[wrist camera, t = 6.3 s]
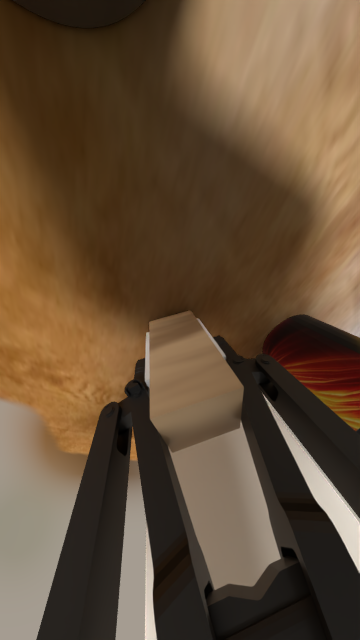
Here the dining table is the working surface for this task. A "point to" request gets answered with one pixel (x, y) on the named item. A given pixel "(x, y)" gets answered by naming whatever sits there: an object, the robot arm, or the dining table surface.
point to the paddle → (190, 383)
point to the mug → (320, 362)
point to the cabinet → (240, 510)
